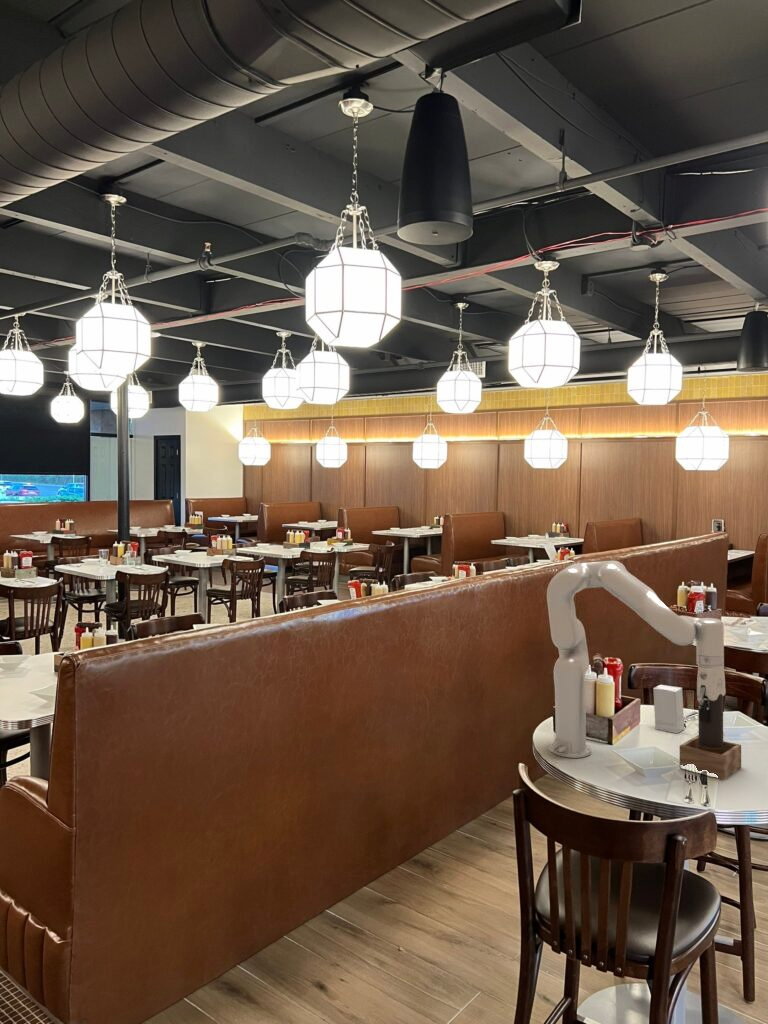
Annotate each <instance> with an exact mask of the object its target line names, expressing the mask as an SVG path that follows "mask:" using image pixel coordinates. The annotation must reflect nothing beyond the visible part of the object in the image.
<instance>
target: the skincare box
mask: <svg viewBox="0 0 768 1024" xmlns="http://www.w3.org/2000/svg"><path fill="white" fill-rule="evenodd" d="M652 692H653V707H654V710H653V711H654V727H655V728H654V729H655V730H658V731H659V730H661V731H664V732H668V733H674V734H678V733H680V732H683V731H685V730H684V729H685V720H684V719H685V717H684V699H683V698H684V696H683V687H679V686H672V685H665V684H659V685H657V686H655V687H653V691H652Z"/></svg>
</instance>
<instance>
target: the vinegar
mask: <svg viewBox="0 0 768 1024" xmlns="http://www.w3.org/2000/svg"><path fill="white" fill-rule="evenodd" d="M704 698H707V699H708V696H704ZM704 702H706V704H707V702H708V701H704ZM697 703H698V709H697V710H698V714H697V715H698V716H697V717H698V735H699V743H700V744H701V745H703V746H707V747H721V746H723V741H724V696H723V695H722V694H720V695H719V696H718V698H717V700H715V701H711V705H710V710H711V723H706V722H701V721H700V708H699V702H698V701H697Z"/></svg>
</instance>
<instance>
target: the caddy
mask: <svg viewBox="0 0 768 1024" xmlns="http://www.w3.org/2000/svg"><path fill="white" fill-rule="evenodd" d="M687 764H694V765H695V766H696V768H697V770H698V771H702V770H707V771H708V772H709V773H714V774H716V775H717V776H718V778H719V779H718V780H720V781H721V780H722V781H725V780H726V779H728V778H730V776H732V775H733V774H735V773H737V772H738V771H739V770H741V769H742V744H739V743H734V742H729V741H725V740H723V746H721V747H707V746H703V745H701V744H700V743H699V734H697V735H696V736H694V737H692V738H691V739H689V740H687V741H685V742H684V743H682V744H680V745H679V766H680V765H683V766H685V765H687Z"/></svg>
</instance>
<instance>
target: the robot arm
mask: <svg viewBox="0 0 768 1024" xmlns="http://www.w3.org/2000/svg"><path fill="white" fill-rule="evenodd" d="M592 588H593V589H594V588H595V589H596V588H604V590H606V591H607V592H608V593H610V594H611V595H612V596H614V597H615V598H617V599H618V600H619V601H621V602H622V603H623V604H625V605H626V606H627V607H629V608H630V609H631V610H632V611H634V612H635V613H636V614H637V615H638V616H639V617H640V618H642V619H643V620H644V621H645V622H647V624H648V625H650V626H651V627H652V628H653V629H654V630H655V631H656V632H658V633H660V635H662V636H663V637H665V638H667V639H668V640H669V641H671V643H673V644H676V645H677V646H682V647H683V646H688V645H690V644H692V643H693V641H694V640H695V643H696V654H695V655H696V665H697V666H698V667H697V675H696V676H697V677H696V679H697V680H696V696H697V697H696V698H697V703H698V702H699V708H700V721H701V722H706V723H711V710H710V705H711V701H715V700H717V698H718V696H719V695H720V694H722V695H723V697H724V696H725V695H726V694H727V693H726V692H727V691H726V678H725V677H726V676H725V646H724V643H725V641H724V640H725V639H724V638H725V636H724V634H725V632H724V631H725V628H724V627H725V626H724V622H723V621H722V620H721V619H720V618H714V617H702V618H700V617H694V616H690V615H689V616H688V615H678V614H677V613H675V612H674V611H673V610H672V609H670V608H669V607H668V606H666V604H665V603H664V602H663V601H662V600H661V599H660V598H659V596H658V595H657V593H656V592H655V591H654V590H653V589H652V588H651V587H649V586H648V585H647V584H646V583H644V582H642V580H640V579H638V578H637V577H636V576H634V575H633V574H631V573H630V571H628V570H627V568H626V567H625V564H623V563H622V562H620V561H617V560H604V561H592V562H591V561H590V562H577V563H576V562H575V563H573V564H570V565H568V566H566V567H565V568H564V569H562V570H560V571H559V572H558V573H557V574H555V575H554V576H553V577H552V578H551V579H550V581H549V583H548V586H547V588H546V602H547V610H548V620H549V627H550V637H551V641H552V643H553V645H554V646H555V647H556V648H557V649H558V656H559V657H558V658H557V659H556V661H555V662H554V666H553V683H554V685H553V686H554V703H555V704H554V705H555V707H554V710H555V714H554V715H555V739H554V743H553V744H551V745H549V746H548V750H549V751H550V752H551V753H553V754H554V755H557V756H559V757H563V758H567V759H568V758H570V759H576V758H577V759H579V758H584V757H585V758H586V757H588V756H590V755H591V753H592V748H591V747H590V746H589V745H587V717H586V715H587V708H586V707H587V706H586V701H587V700H586V684H585V683H586V680H585V679H586V674H587V672H588V670H589V667H590V659H589V658H590V657H589V651H588V644H587V637H586V630H585V628H584V625H583V622H582V621H581V620H579V619H578V618H577V614H576V606H575V602H574V601H575V600H574V597H575V595H576V594H577V593H580V591H582V590H584V589H592ZM704 696H708V699H707V698H704ZM704 701H708V702H707V704H706V702H704Z"/></svg>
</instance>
